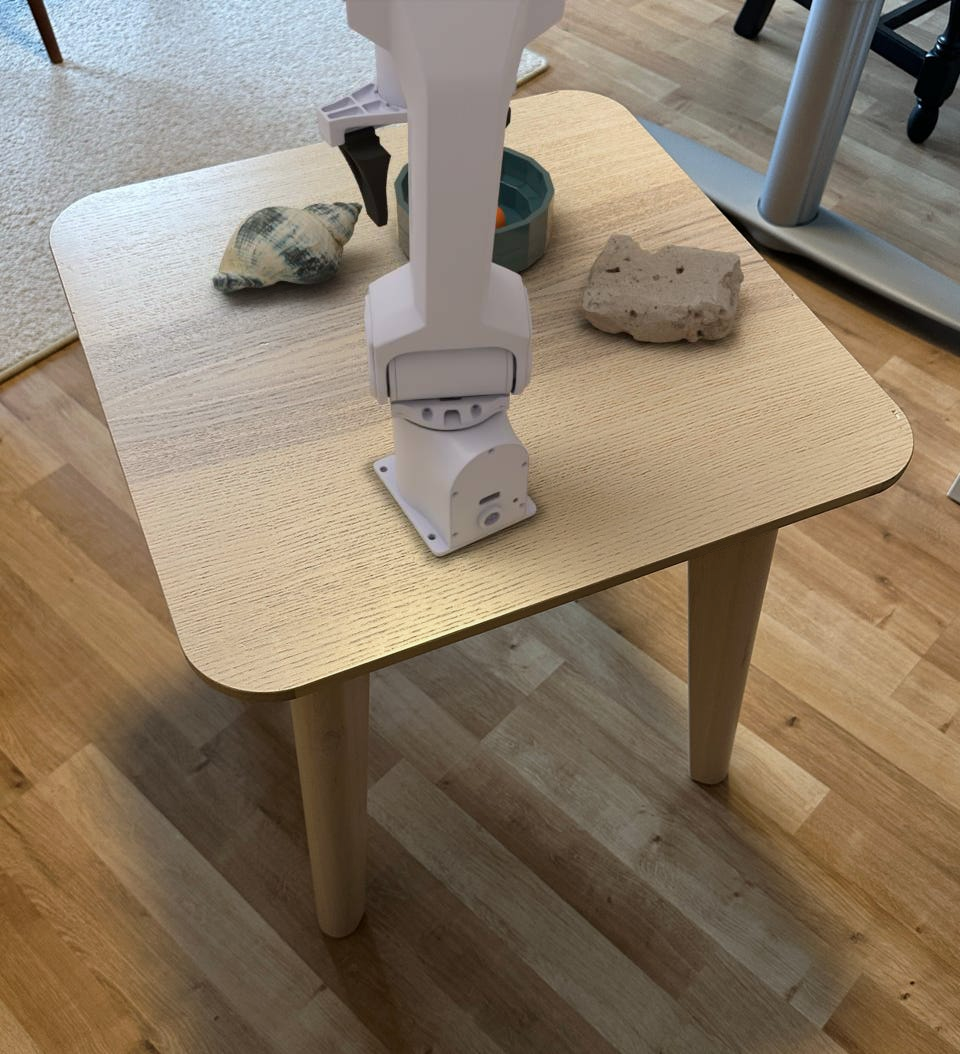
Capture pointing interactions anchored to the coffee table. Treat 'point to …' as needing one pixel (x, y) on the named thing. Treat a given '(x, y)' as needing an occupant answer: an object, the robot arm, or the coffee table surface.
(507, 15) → the robot arm
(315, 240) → the seashell
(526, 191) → the bowl
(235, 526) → the coffee table surface
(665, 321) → the stone
